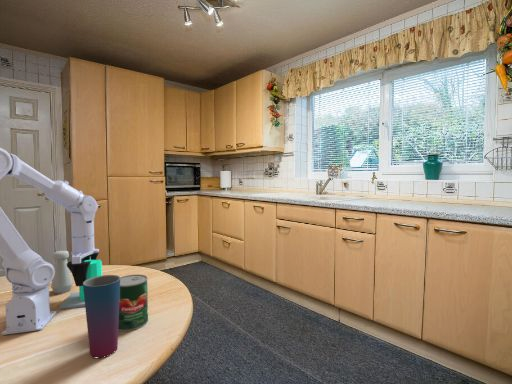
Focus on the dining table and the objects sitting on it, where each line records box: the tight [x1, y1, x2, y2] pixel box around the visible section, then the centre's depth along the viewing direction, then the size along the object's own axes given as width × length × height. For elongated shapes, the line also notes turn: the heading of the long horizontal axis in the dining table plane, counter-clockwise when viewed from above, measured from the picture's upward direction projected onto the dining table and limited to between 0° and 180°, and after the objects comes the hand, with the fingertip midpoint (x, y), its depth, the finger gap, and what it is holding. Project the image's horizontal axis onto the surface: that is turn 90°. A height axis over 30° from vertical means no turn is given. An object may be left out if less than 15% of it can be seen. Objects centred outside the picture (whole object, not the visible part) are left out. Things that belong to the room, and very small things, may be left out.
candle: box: [78, 258, 103, 300], centre depth 86 cm, size 6×6×12 cm
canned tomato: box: [118, 274, 149, 332], centre depth 71 cm, size 8×8×11 cm
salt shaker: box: [50, 250, 74, 295], centre depth 92 cm, size 6×6×13 cm
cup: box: [83, 274, 121, 358], centre depth 59 cm, size 7×7×15 cm
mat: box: [59, 292, 85, 311], centre depth 85 cm, size 10×10×1 cm
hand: (84, 281), depth 85 cm, fingers open, 7 cm apart
